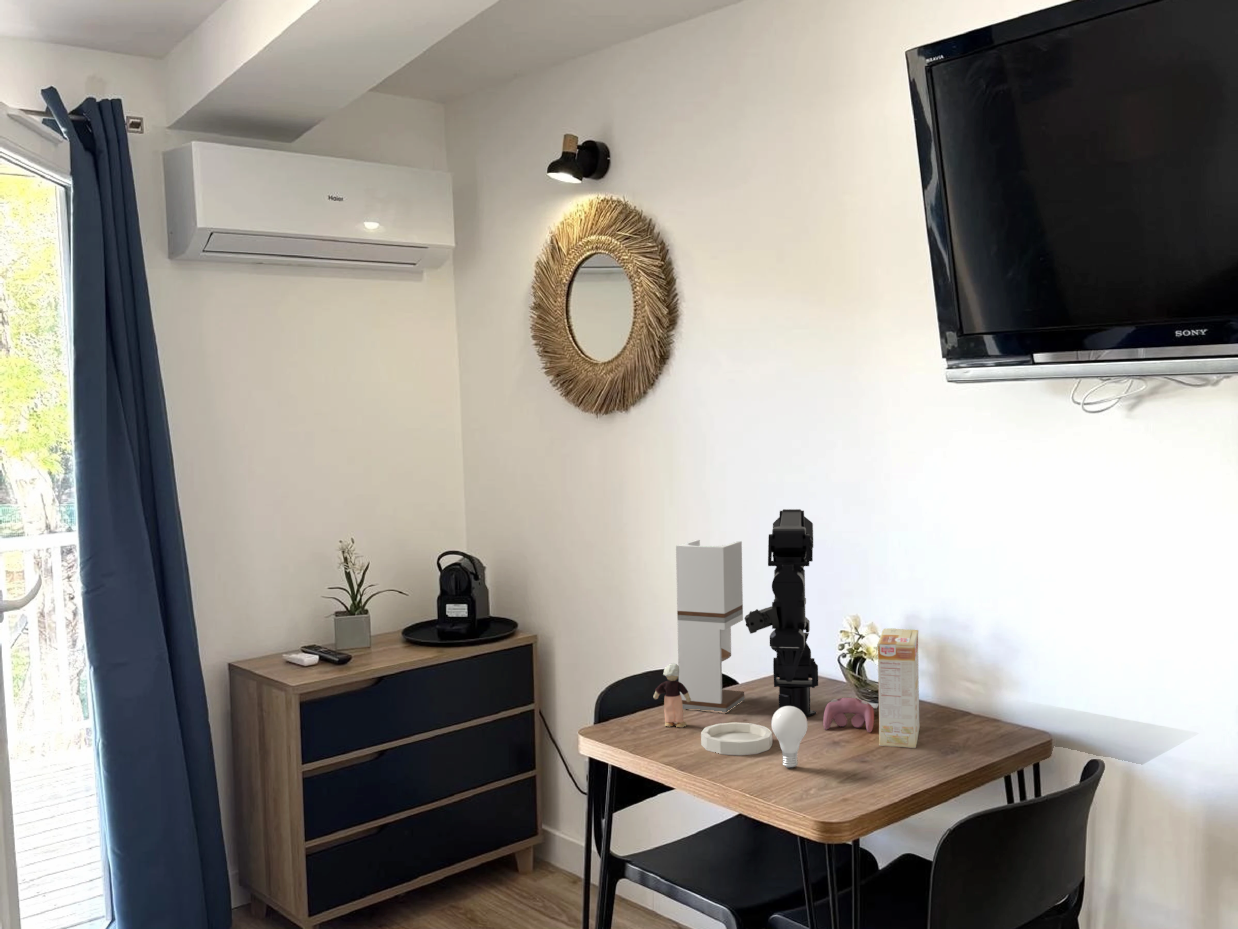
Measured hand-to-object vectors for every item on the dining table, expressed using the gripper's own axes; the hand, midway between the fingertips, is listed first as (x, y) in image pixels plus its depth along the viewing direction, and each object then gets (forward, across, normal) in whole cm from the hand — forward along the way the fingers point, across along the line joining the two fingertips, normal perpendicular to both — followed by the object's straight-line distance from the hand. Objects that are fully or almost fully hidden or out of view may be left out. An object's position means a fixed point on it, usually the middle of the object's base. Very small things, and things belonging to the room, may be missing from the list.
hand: (791, 676), depth 213 cm
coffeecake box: (+13, -8, +20) cm, 25 cm away
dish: (+13, +2, -10) cm, 17 cm away
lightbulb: (+13, +15, +1) cm, 20 cm away
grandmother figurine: (+13, -9, -25) cm, 29 cm away
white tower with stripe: (+13, -26, -19) cm, 34 cm away
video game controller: (+13, -12, +10) cm, 21 cm away
